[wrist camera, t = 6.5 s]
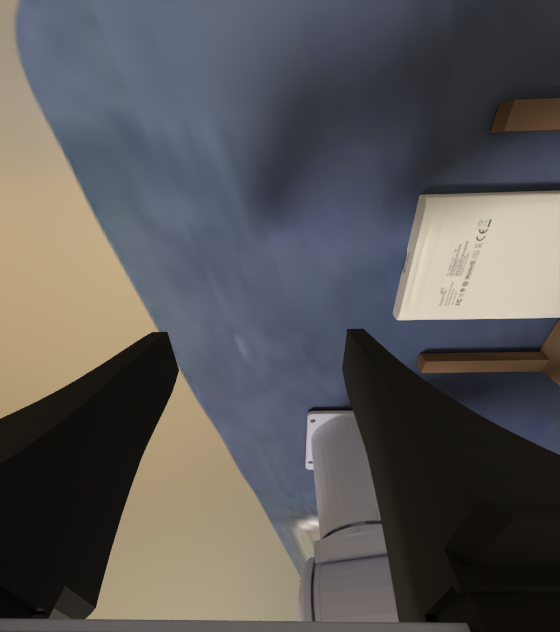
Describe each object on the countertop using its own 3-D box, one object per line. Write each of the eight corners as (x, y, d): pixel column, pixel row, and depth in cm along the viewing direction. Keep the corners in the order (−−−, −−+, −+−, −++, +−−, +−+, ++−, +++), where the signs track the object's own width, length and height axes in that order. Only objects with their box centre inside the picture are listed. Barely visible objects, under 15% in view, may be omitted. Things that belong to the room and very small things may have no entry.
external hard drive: (556, 308, 20) (389, 311, 20) (629, 186, 15) (416, 193, 16) (577, 319, 18) (398, 323, 18) (664, 189, 14) (429, 196, 14)
